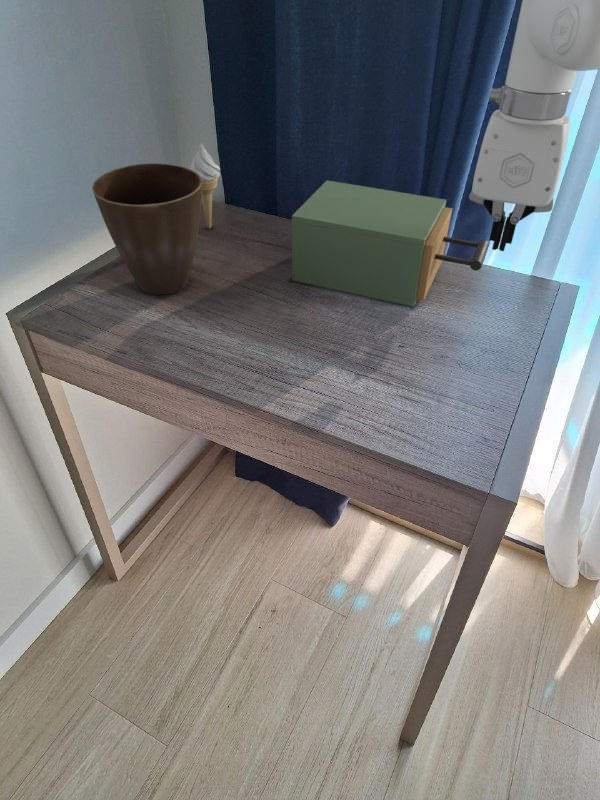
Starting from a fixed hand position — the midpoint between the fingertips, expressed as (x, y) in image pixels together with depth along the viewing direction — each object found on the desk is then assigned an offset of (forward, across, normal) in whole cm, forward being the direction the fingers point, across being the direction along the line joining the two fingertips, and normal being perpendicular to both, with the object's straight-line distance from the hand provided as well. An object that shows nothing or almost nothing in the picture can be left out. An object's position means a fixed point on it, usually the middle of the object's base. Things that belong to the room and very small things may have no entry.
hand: (499, 246), depth 81 cm
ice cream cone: (+9, -51, +6) cm, 52 cm away
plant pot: (+9, -48, -14) cm, 50 cm away
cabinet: (+9, -20, +2) cm, 22 cm away
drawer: (+8, -14, +2) cm, 17 cm away
